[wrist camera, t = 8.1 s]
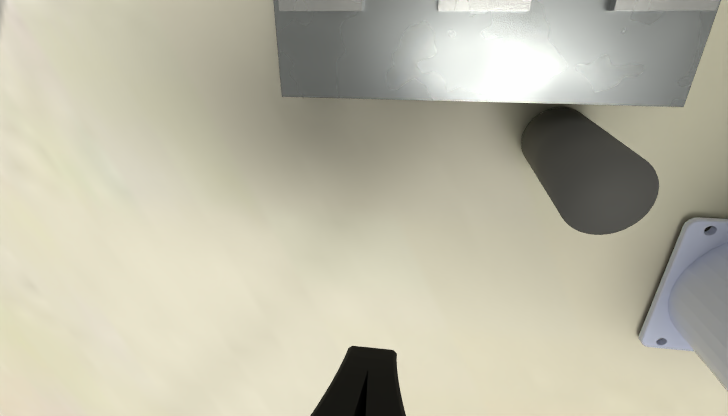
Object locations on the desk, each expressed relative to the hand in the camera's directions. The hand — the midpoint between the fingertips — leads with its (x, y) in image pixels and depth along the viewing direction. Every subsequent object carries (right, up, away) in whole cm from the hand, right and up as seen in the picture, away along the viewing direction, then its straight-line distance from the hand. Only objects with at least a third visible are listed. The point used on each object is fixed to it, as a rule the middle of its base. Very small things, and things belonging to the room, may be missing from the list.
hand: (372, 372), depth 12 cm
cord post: (+9, +8, +6) cm, 13 cm away
